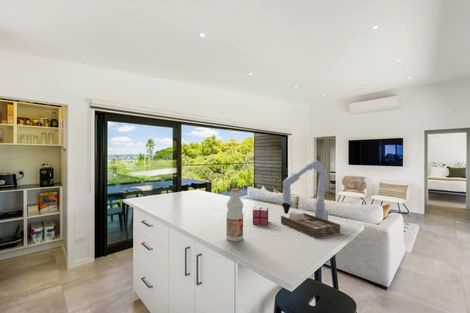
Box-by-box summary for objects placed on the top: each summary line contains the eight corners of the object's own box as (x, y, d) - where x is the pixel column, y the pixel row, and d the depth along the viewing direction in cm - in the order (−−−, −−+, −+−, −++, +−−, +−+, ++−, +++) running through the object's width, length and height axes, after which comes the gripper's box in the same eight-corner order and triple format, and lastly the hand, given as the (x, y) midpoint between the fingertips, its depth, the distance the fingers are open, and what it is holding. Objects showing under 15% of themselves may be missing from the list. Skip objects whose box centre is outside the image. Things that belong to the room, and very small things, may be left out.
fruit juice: (224, 236, 130) (225, 188, 130) (240, 235, 132) (241, 187, 132) (228, 242, 121) (228, 190, 120) (244, 240, 123) (245, 190, 123)
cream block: (296, 216, 162) (297, 211, 162) (303, 219, 156) (304, 213, 156) (289, 217, 159) (289, 212, 159) (296, 220, 153) (296, 214, 153)
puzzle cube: (267, 225, 151) (267, 210, 151) (252, 224, 153) (252, 209, 153) (268, 221, 161) (268, 207, 161) (254, 220, 163) (254, 206, 163)
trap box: (303, 219, 166) (303, 212, 166) (339, 232, 138) (340, 224, 138) (281, 223, 156) (281, 215, 156) (315, 237, 128) (315, 229, 128)
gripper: (276, 194, 172) (276, 211, 172) (288, 197, 159) (288, 216, 159) (283, 193, 175) (283, 210, 175) (296, 196, 162) (296, 215, 162)
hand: (286, 213), depth 167 cm, fingers closed
